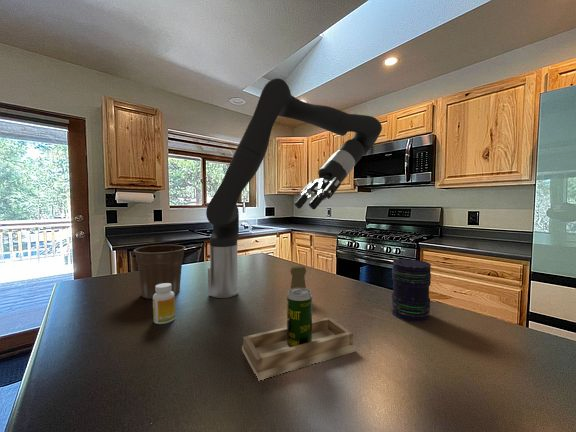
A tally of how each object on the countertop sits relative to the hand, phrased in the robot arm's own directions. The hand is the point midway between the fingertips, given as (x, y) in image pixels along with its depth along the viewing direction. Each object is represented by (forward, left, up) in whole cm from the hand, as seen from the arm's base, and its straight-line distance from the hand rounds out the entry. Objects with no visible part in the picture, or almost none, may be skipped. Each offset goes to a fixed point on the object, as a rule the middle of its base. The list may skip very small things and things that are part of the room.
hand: (303, 207), depth 76 cm
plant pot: (-51, +8, -31) cm, 60 cm away
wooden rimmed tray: (+1, -20, -31) cm, 37 cm away
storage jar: (+30, +3, -31) cm, 43 cm away
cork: (-3, +11, -31) cm, 33 cm away
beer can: (+1, -20, -30) cm, 36 cm away
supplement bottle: (-37, -11, -31) cm, 49 cm away
